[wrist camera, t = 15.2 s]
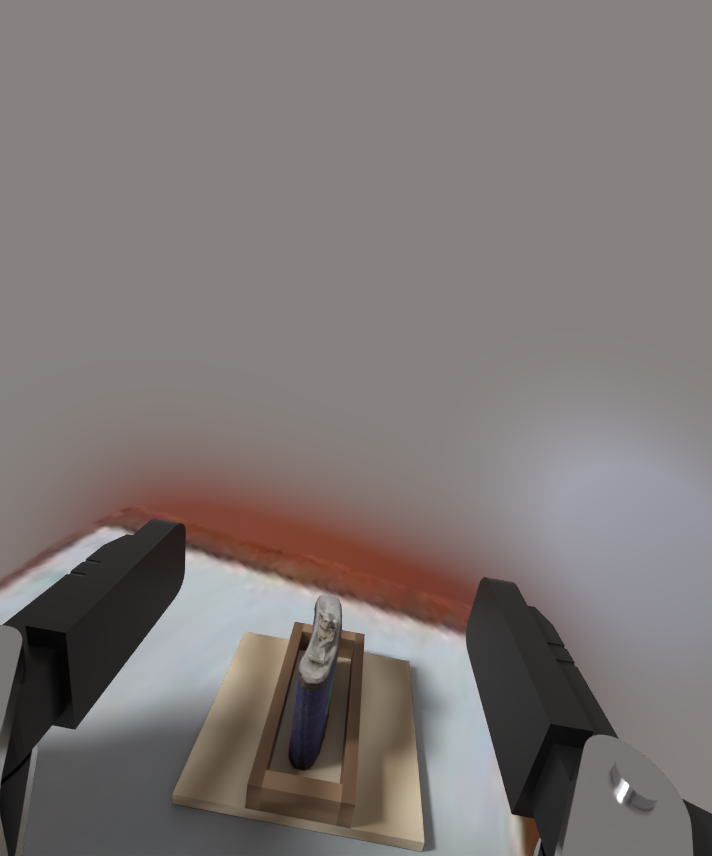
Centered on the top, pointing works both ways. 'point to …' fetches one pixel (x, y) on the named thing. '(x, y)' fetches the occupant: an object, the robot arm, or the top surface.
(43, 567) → the top surface
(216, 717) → the slot board
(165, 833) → the top surface
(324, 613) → the flask
